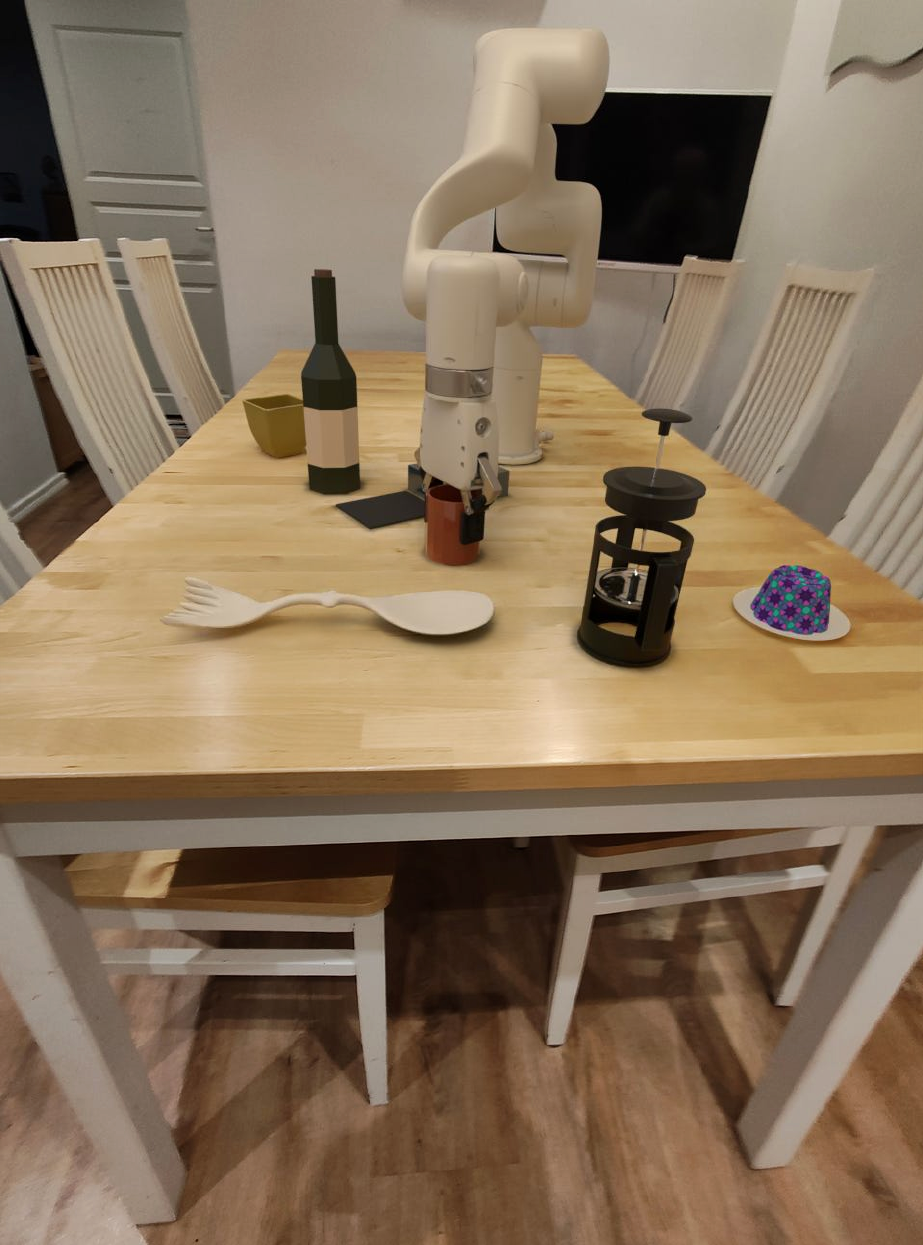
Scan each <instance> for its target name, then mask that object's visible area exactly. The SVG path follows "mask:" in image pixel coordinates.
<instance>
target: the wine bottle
mask: <svg viewBox="0 0 923 1245" xmlns="http://www.w3.org/2000/svg"><path fill="white" fill-rule="evenodd" d="M313 273H314V275H311V276H310V278H311V294H312V295H311V296H312V309H313V325H314V340H315V343H314V344H313V346H312V349H311V351H310V353H309V355H308V357H307V359H306V361H305V363H304V366H303V368H302V370H301V373H300V381H301V382H300V383H301V396H302V399H303V409H304V422H305V435H306V446H305V448H306V460H307V472H308V474H307V475H308V476H307V477H308V487H309V491H311V492H315V493H317V494H320V495H324V496H329V495H330V496H331V495H333V496H334V495H348V494H351V493H353V492H357V491H359V490H361V471H360V470H361V467H360V466H361V465H360V441H359V440H360V439H359V413H358V411H359V410H358V409H359V408H358V385H357V384H358V383H357V382H358V380H357V374H356V372H355V370H354V368H353V366H352V364H351V363H350V360H349V359H348V357H347V356H346V354H345V352H344V350H343V349H342V347H341V345H340V343H339V326H338V324H339V323H338V304H337V303H338V302H337V285H336V284H337V282H336V276H333V270H332V269H327V268H325V269H324V268H315V269H313Z"/></svg>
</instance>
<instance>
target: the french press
mask: <svg viewBox="0 0 923 1245" xmlns="http://www.w3.org/2000/svg"><path fill="white" fill-rule="evenodd" d="M641 416H642V417H643V418H645V419H647V420H650V421H654V422H659V424H658V431H657V435H658V436H660V439H659V443H658V449H657V453H656V454H657V455H656V460H655V465H654V467H652V466H621V467H616V468H613V469H610V470H608V471H606V472H605V473H604V474H603V476H602V482H603V484H604V485H605V487H606V489H605V495H604V503H605V504H606V506H608V507H609V508H610V509H611V510H613V511H615V512H617V513H619V514H620V515H612V516H609V517H605V518H602V519H601V520H599V521H598V522H597V523H596V524H595V528H594V535H593V544H592V549H591V550H592V551H591V557H590V564H589V568H588V576H587V583H586V589H585V598H584V602H583V607H582V613H581V620H580V624H579V626H578V629H577V631H576V641H577V643H578V645H579V647H580V648H581V649H582V650H583V651H584V652H585V653H586V654H587V655H589V656H591V657H592V658H594V659H596V660H598V661H600V662H602V663H605V664H608V665H610V666H611V665H612V666H616V667H619V668H627V669H628V668H629V669H645V668H651V667H654V666H657V665H660V664H662V663H663V662H665V661H666V660H668V658H669V657H670V655H671V651H672V638H673V634H674V628H675V625H676V620H675V616H676V613H677V607H678V604H679V599H680V595H681V590H682V586H683V581H684V578H685V573H686V569H687V565H688V560H689V559H690V558H691V556H692V552H693V548H694V544H695V538H694V535H693V534H692V533H691V531H689V530H688V529H686V528H685V527H683V526H681V525H680V524H677V523H675V522H677V521H683V520H687V519H689V518H692V517H693V516H695V515H696V512H697V507H698V504H699V500H700V499H702V498H703V497H705V495H706V492H707V487H706V485H705V484H704V483H703V482H702V481H701V480H700V479H698V478H696V477H693V476H691V475H688V474H686V473H682V472H680V471H675V470H671V469H666V468H660V464H661V459H662V453H663V449H664V443H665V438H666V437H668V436H669V435H670V432H671V428H672V424H687V423H691V422H692V421H693V417H692V416H691V415H690V414H688V413H686V412H683V411H681V410H677V409H672V408H660V407H659V408H650V409H646V410H643V411H642V412H641ZM636 529H638V530H642V531H641V532H642V533H641V538H640V543H639V547H638V548H639V549H636V548H635V549H634V548H632V547H633V542H634V538H635V532H636ZM611 530H617V532H616V537H615V543H614V542H613V541H611V540H608V539H607V538H606V537H604V536H603V535H602V533H605V532H606V531H611ZM647 531H651V532H656V533H661V534H663V535H666V536H669V537H671V538H674V539H675V540H677V541H679V542H680V544H679V549H677V550H671V551H648V550H644V546H645V541H646V535H647ZM601 553H603V554H604V555H606V556H608V557H610V558H612V561H611V566H610V567H609V568H605V569H601V570H599V564H600V558H601ZM629 564H631V565H632V564H633V565H635V567H634V568H633V567H629ZM641 566H645V567H648V569H647V570H645V569H641ZM598 570H599V571H598ZM607 624H626V625H630V626H634V627H635V632H634V636H633V635H626V634H621V633H617V632H614V631H611V630H608V629H606V628H603V627H601V625H607Z"/></svg>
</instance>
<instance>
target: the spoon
mask: <svg viewBox="0 0 923 1245" xmlns="http://www.w3.org/2000/svg"><path fill="white" fill-rule="evenodd" d="M184 582H185V583H186V584H187V585H188V586H186V587H184V588H183V589H184V590H185V591H186V592H187V593H183V594H182V595H181V596H182V597H183V598H184V599H186V600H188V601H190V602H186V601H184V602H179V606H180V607H181V608H183V609H181V608H174V609H173V610H172V612H170V613H167V615H164V616H160V617H159V622H160V623H162V624H163V625H165V626H168V627H173V628H209V629H210V628H211V629H230V628H238V627H242V626H246V625H249V624H251V623H254V622H257V621H259V620H260V619H263V618H265V617H266V616H267V617H268V616H269V615H271V614H273V613H275V612H277V611H280V610H282V609H285V608H288V607H292V606H293V607H294V606H301V605H313V606H314V605H317V606H322V607H324V608H326V609H327V608H328V609H333V608H335V607H337V606H340V605H341V606H342V605H347V606H348V605H349V606H354V607H359V608H362V609H365V610H367V611H370V612H372V613H373V614H376V615H377V616H378V617H380V618H382V619H383V620H385V621H387V622H389V623H390V624H392V625H394V626H396V627H397V628H401V629H403V630H405V631H408V632H411V633H415V634H421V635H426V636H427V635H430V636H450V635H458V634H463V633H466V632H470V631H473V630H476V629H478V628H481V627H483V626H484V625H486V624H488V623H490V621H491V620H492V619H493V618H494V615H495V613H496V606H495V603H494V600H493V599H492V598H491V597H490V596H488V595H487V594H485V593H482V592H478V591H471V590H457V589H453V590H452V589H451V590H450V589H449V590H433V591H419V592H418V591H416V592H410V593H409V592H408V593H403V594H402V593H401V594H395V595H387V596H386V595H385V596H378V597H372V596H363V595H356V594H349V593H340V592H338V591H337V590H334V589H333V590H332V589H331V590H327V591H323V592H303V593H292V594H290V595H289V594H288V595H285V596H281V597H279V598H276V599H273V600H270V601H265V602H261V601H258V600H255V599H253V598H251V597H249V596H247V595H245V594H243V593H240V592H237V591H233V590H229V589H226V588H223V587H221V586H218V585H216V584H213V583H211V582H209V581H206V580H203V579H201V578H198V577H193V576H189V577H186V578H185V579H184Z"/></svg>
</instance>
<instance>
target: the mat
mask: <svg viewBox="0 0 923 1245" xmlns="http://www.w3.org/2000/svg"><path fill="white" fill-rule="evenodd" d="M424 501H425V499H423V498H421V497H419V496H418V495H417V496H416V494H414V493H412V492H410V491H408V490H402V491H397V492H391V493H386V494H382V495H376V496H371V497H365V498H361V499H356V500H351V501H345V502H340V503H336V504H335V507H336V508H337V509H338V510H340V511H342V512H343V513H344V514H346V515H348V516H349V517H351V518H352V519H353V520H355V521H356V522H357V523H360V524H361V525H362V526H364V527H365V528H367V529H368V530H374V529H378V528H379V529H380V528H383V527H388V526H392V525H396V524H402V523H406V522H409V521H414V520H419V519H424Z"/></svg>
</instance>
